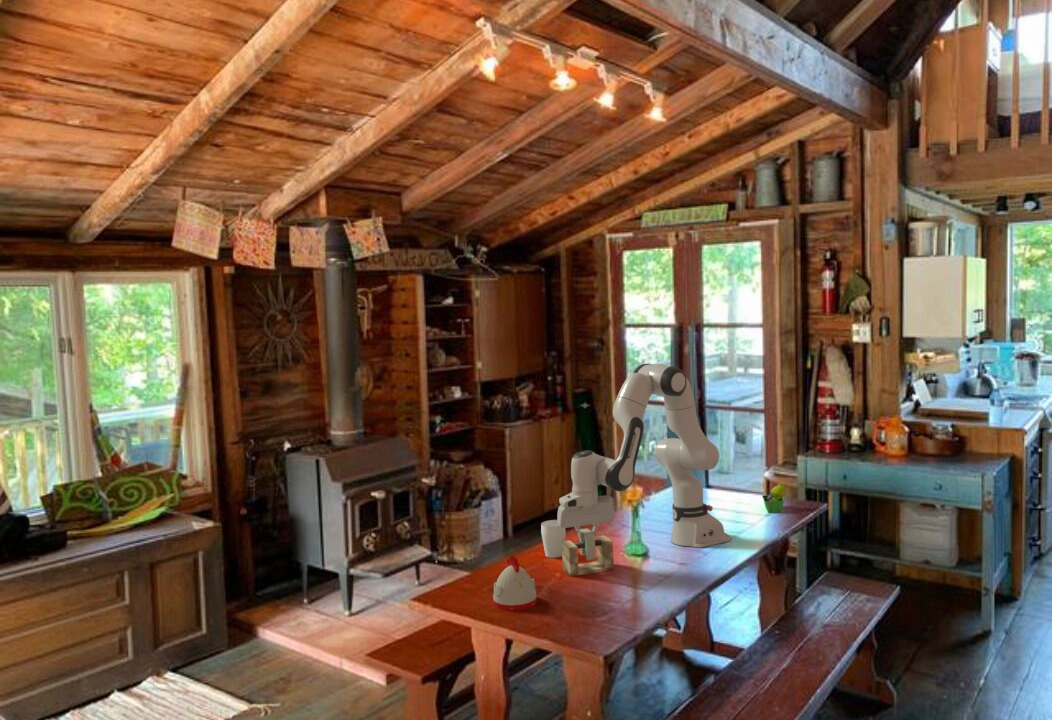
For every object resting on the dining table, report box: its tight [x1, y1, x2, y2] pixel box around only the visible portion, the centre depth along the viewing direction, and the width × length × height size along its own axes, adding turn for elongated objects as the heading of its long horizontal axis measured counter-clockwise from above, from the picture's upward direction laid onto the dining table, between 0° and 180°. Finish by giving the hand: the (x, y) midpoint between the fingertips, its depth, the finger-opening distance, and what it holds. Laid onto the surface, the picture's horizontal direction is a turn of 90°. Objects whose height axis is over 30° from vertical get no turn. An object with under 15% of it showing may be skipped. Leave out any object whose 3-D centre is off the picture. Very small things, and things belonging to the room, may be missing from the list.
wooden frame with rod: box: [561, 535, 615, 577], centre depth 298 cm, size 16×8×10 cm, turn 106°
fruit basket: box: [762, 483, 786, 514], centre depth 360 cm, size 11×9×11 cm
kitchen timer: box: [492, 554, 538, 611], centre depth 271 cm, size 14×14×15 cm
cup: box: [540, 519, 566, 559], centre depth 316 cm, size 9×9×12 cm
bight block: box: [579, 527, 596, 561], centre depth 298 cm, size 3×7×9 cm, turn 16°
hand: (586, 536), depth 298 cm, fingers closed on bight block, 3 cm apart
